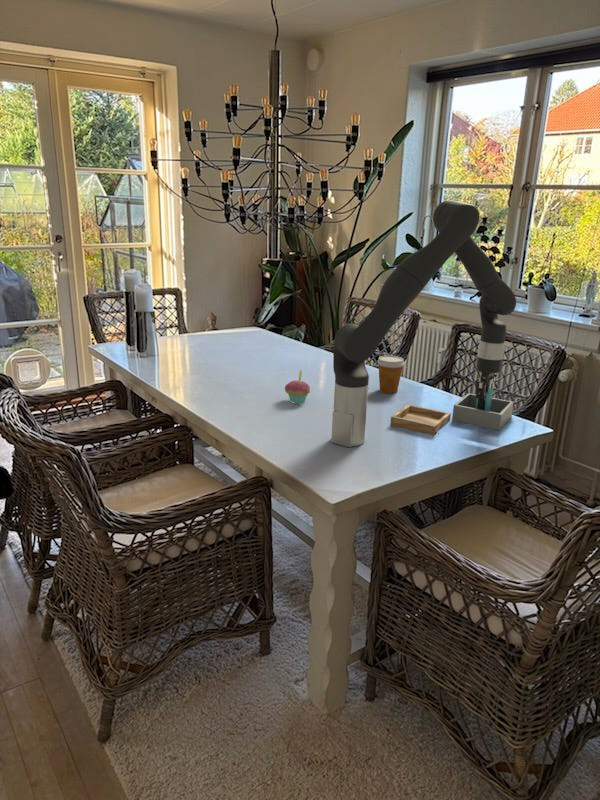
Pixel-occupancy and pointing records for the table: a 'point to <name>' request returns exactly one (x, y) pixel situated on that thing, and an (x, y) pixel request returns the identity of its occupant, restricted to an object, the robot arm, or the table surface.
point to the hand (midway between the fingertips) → (482, 408)
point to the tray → (420, 419)
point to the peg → (487, 400)
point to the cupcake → (297, 390)
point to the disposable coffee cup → (390, 373)
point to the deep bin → (482, 412)
